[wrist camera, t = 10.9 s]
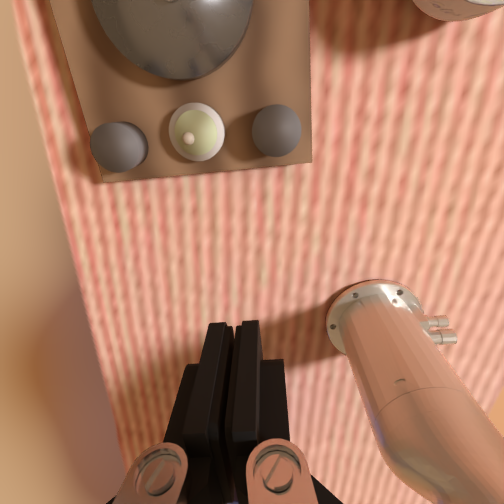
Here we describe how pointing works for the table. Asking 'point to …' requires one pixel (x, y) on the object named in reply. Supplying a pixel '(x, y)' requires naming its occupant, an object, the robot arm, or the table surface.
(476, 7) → the teacup
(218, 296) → the table surface
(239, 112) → the levelling base
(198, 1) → the silver metal dome
